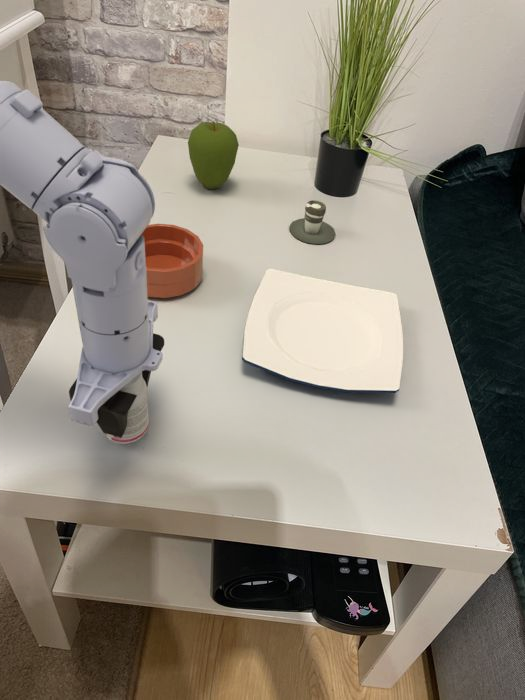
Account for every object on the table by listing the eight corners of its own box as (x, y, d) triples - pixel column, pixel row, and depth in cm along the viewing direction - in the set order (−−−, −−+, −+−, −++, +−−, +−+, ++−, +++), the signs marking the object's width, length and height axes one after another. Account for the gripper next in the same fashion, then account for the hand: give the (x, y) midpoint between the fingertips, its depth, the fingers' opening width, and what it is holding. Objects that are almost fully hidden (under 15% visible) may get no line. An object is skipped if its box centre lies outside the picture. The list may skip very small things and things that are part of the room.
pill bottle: (158, 422, 56) (156, 368, 50) (128, 453, 53) (122, 399, 47) (123, 401, 57) (117, 347, 51) (92, 430, 54) (82, 376, 48)
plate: (400, 413, 61) (407, 398, 60) (230, 378, 62) (232, 363, 60) (397, 305, 76) (403, 290, 74) (260, 278, 77) (262, 263, 75)
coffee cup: (359, 245, 86) (367, 218, 83) (296, 257, 82) (301, 229, 78) (323, 207, 93) (329, 182, 90) (263, 217, 89) (266, 190, 85)
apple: (206, 203, 90) (209, 137, 82) (177, 182, 94) (177, 117, 86) (244, 190, 94) (250, 127, 86) (215, 171, 98) (219, 108, 90)
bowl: (115, 298, 70) (112, 268, 66) (128, 250, 78) (125, 220, 74) (199, 303, 71) (201, 274, 68) (203, 255, 79) (204, 227, 76)
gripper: (122, 385, 38) (133, 482, 48) (187, 273, 49) (185, 371, 58) (32, 362, 39) (61, 463, 48) (115, 256, 49) (125, 356, 59)
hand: (124, 412), depth 53 cm, fingers closed on pill bottle, 5 cm apart
